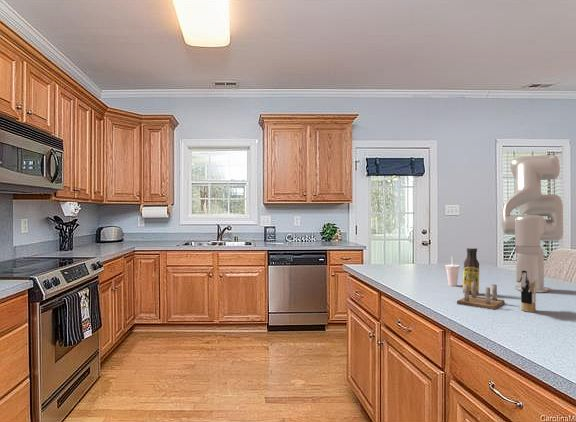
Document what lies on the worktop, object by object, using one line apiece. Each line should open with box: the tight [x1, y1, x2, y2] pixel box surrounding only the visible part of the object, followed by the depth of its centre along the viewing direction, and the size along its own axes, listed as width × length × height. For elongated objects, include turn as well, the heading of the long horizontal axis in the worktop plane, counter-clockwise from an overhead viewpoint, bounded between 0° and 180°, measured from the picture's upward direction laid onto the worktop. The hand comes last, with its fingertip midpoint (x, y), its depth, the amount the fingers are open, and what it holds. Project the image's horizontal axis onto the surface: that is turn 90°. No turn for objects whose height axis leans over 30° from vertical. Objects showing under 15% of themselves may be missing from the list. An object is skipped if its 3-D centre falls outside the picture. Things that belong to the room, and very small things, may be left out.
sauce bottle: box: [462, 247, 480, 296], centre depth 164 cm, size 6×6×20 cm
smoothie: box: [444, 255, 461, 287], centre depth 183 cm, size 6×6×14 cm
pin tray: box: [456, 282, 506, 311], centre depth 147 cm, size 13×13×7 cm
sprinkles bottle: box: [520, 277, 537, 313], centre depth 135 cm, size 5×5×14 cm
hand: (528, 301), depth 135 cm, fingers closed on sprinkles bottle, 4 cm apart
